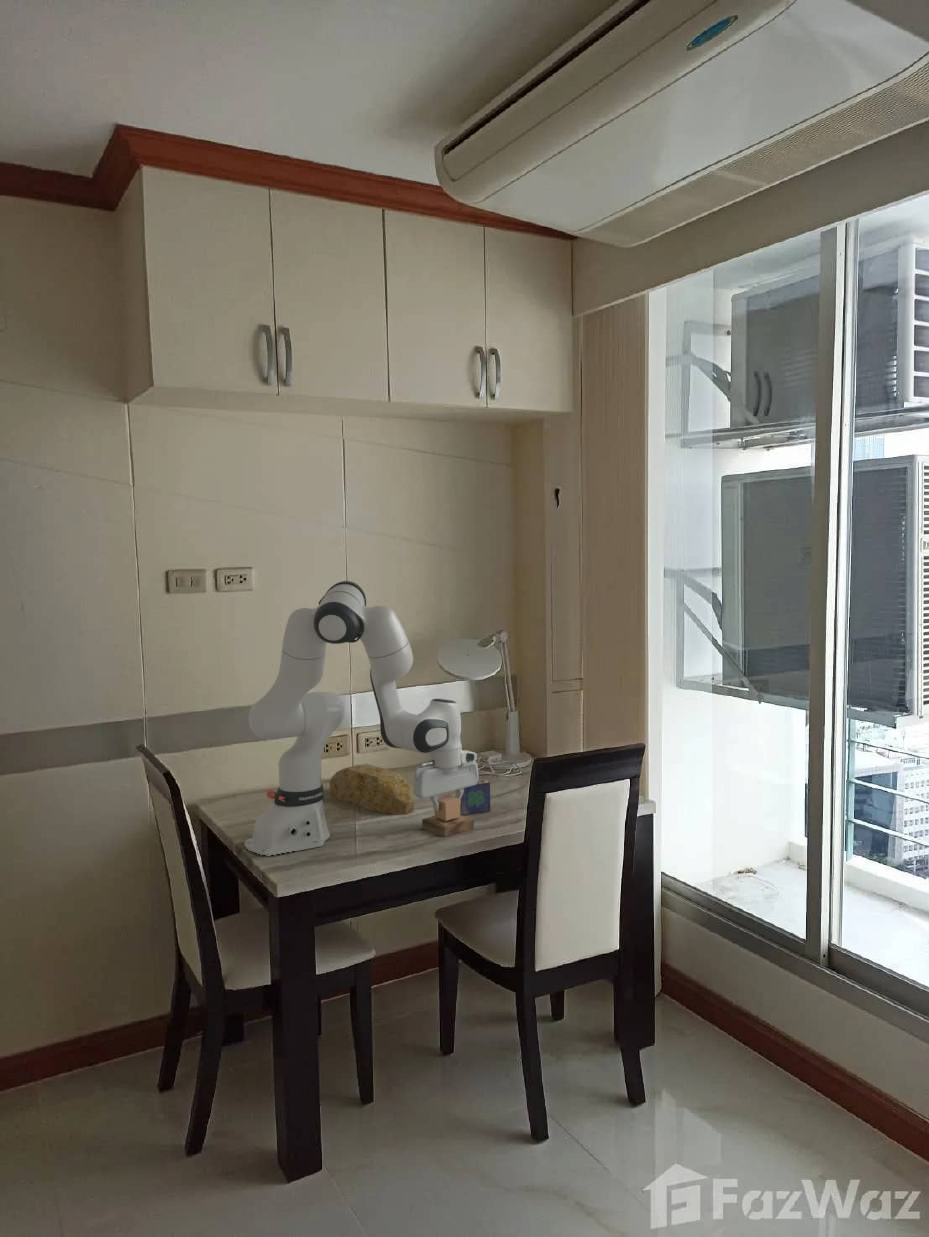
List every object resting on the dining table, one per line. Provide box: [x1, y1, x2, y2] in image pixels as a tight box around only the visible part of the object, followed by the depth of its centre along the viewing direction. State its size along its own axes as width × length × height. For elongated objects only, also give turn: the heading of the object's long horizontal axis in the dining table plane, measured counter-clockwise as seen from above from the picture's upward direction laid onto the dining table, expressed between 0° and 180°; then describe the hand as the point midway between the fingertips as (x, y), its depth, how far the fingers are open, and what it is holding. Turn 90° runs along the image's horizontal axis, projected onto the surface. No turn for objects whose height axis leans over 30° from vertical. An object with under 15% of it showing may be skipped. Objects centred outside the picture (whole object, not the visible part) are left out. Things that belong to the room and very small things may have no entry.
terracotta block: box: [433, 794, 460, 821], centre depth 252 cm, size 5×5×5 cm
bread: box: [329, 763, 415, 816], centre depth 279 cm, size 36×11×10 cm, turn 45°
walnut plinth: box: [421, 815, 475, 838], centre depth 253 cm, size 10×10×3 cm
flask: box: [460, 779, 491, 817], centre depth 265 cm, size 9×3×11 cm, turn 109°
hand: (447, 807), depth 252 cm, fingers open, 5 cm apart
